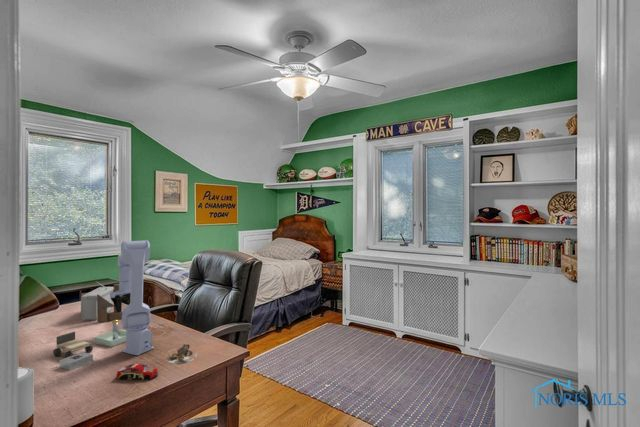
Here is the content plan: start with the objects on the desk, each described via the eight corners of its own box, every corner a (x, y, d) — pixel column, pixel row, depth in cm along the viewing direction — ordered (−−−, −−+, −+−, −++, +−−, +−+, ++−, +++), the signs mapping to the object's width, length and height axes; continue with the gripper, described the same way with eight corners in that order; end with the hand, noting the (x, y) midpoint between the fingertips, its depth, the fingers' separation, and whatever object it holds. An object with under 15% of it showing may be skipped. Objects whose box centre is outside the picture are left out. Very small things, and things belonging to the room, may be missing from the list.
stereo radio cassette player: (98, 310, 195) (98, 274, 194) (114, 309, 196) (114, 274, 196) (80, 322, 174) (79, 282, 174) (98, 321, 175) (97, 281, 175)
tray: (135, 338, 152) (135, 332, 152) (111, 347, 142) (111, 341, 142) (118, 334, 157) (118, 328, 157) (94, 343, 147) (94, 337, 147)
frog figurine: (174, 351, 140) (174, 341, 140) (202, 352, 139) (202, 343, 138) (158, 363, 128) (158, 353, 128) (189, 365, 127) (189, 355, 127)
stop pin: (119, 339, 150) (119, 320, 150) (114, 340, 148) (114, 321, 148) (116, 338, 151) (116, 319, 151) (111, 339, 149) (111, 320, 149)
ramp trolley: (92, 351, 138) (92, 334, 138) (69, 360, 130) (69, 342, 130) (77, 347, 142) (77, 330, 142) (53, 355, 134) (53, 337, 134)
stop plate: (92, 361, 129) (92, 354, 129) (69, 370, 122) (69, 363, 122) (82, 358, 132) (82, 351, 132) (59, 367, 125) (59, 360, 124)
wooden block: (97, 321, 174) (97, 286, 174) (121, 317, 182) (120, 283, 181) (99, 323, 171) (98, 287, 171) (123, 318, 179) (122, 284, 179)
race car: (161, 373, 121) (161, 362, 121) (153, 381, 115) (153, 369, 115) (123, 373, 121) (123, 361, 121) (114, 380, 115) (114, 369, 115)
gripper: (134, 276, 168) (134, 304, 168) (105, 282, 155) (105, 312, 155) (144, 278, 165) (144, 306, 165) (115, 284, 152) (116, 314, 152)
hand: (126, 309), depth 160 cm, fingers open, 7 cm apart
